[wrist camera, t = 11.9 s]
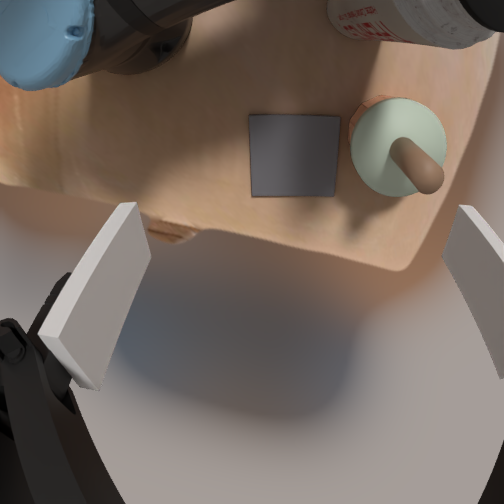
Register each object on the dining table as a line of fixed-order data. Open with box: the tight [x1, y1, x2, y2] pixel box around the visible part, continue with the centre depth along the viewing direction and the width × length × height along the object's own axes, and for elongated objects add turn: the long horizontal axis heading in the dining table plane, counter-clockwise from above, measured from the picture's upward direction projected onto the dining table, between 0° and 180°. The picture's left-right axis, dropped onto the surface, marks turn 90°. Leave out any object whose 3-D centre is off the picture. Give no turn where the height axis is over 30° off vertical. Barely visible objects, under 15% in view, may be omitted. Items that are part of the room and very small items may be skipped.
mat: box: [249, 114, 340, 197], centre depth 42 cm, size 12×12×1 cm
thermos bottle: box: [327, 0, 504, 49], centre depth 18 cm, size 8×8×28 cm
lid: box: [350, 97, 447, 197], centre depth 32 cm, size 13×13×10 cm
